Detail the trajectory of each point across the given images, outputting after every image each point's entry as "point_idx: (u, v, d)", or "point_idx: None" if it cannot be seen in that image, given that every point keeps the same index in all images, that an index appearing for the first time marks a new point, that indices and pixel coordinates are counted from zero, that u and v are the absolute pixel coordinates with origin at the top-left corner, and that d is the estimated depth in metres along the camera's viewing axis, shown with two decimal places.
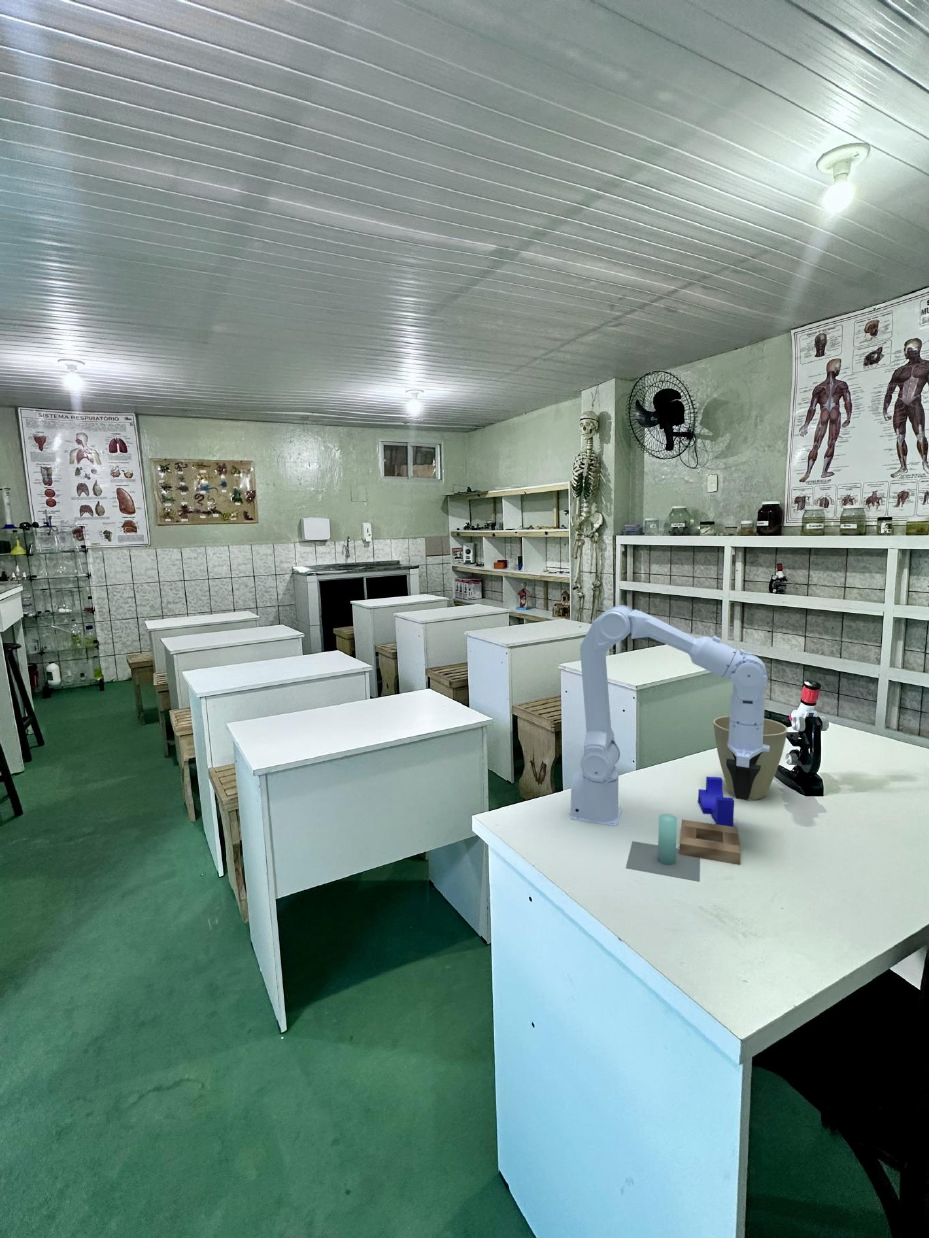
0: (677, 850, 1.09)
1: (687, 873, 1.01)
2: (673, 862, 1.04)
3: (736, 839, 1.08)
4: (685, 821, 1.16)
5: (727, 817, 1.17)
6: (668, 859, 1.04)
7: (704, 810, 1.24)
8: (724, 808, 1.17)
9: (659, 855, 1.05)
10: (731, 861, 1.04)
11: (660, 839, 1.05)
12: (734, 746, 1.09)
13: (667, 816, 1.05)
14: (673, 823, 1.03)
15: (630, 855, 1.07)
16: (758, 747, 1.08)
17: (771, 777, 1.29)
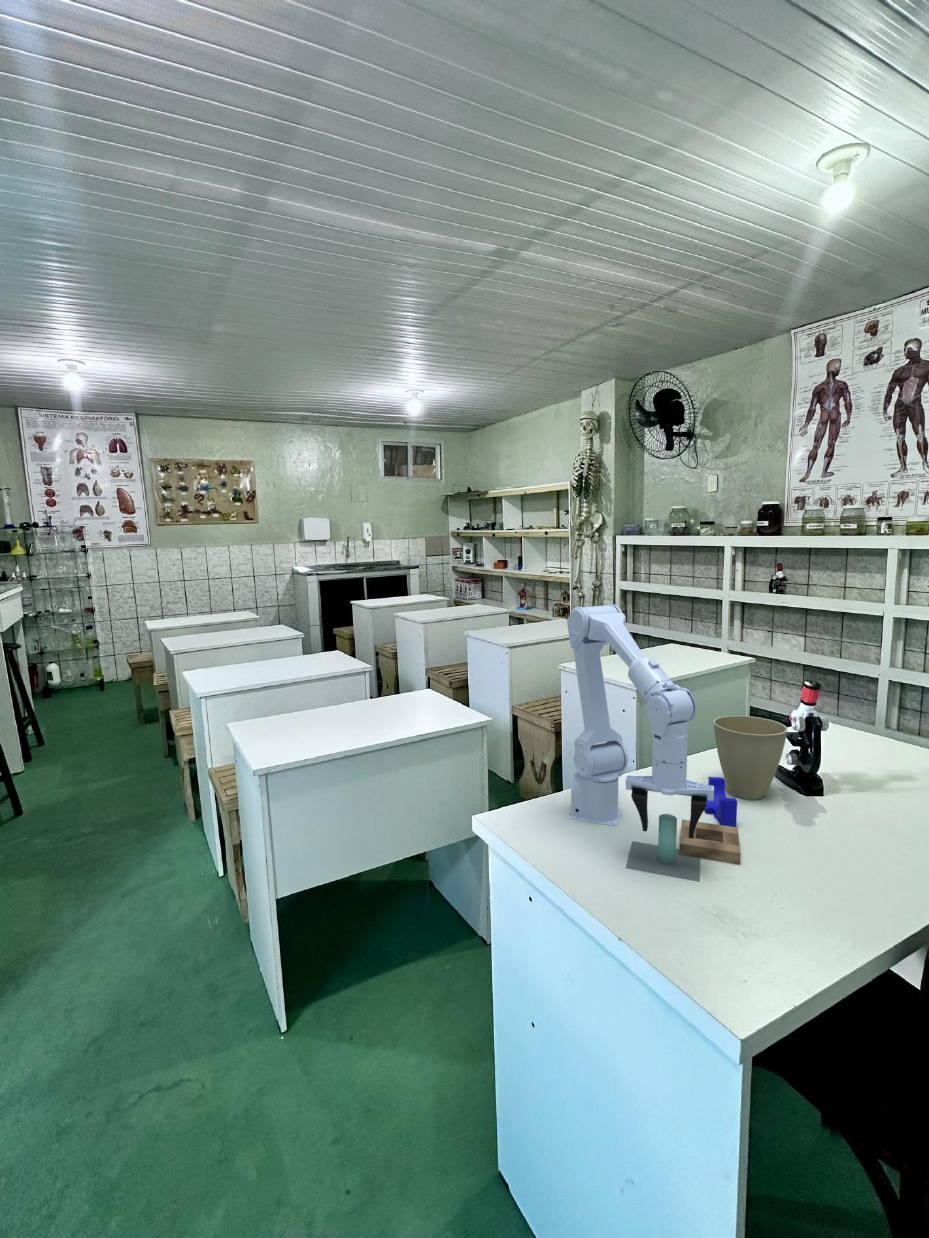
0: (677, 850, 1.09)
1: (687, 873, 1.01)
2: (673, 862, 1.04)
3: (736, 839, 1.08)
4: (685, 821, 1.16)
5: (730, 817, 1.17)
6: (668, 859, 1.04)
7: (707, 810, 1.24)
8: (728, 809, 1.17)
9: (659, 855, 1.05)
10: (731, 861, 1.04)
11: (660, 839, 1.05)
12: None
13: (667, 816, 1.05)
14: (673, 823, 1.03)
15: (630, 855, 1.07)
16: (657, 784, 1.02)
17: (771, 777, 1.29)
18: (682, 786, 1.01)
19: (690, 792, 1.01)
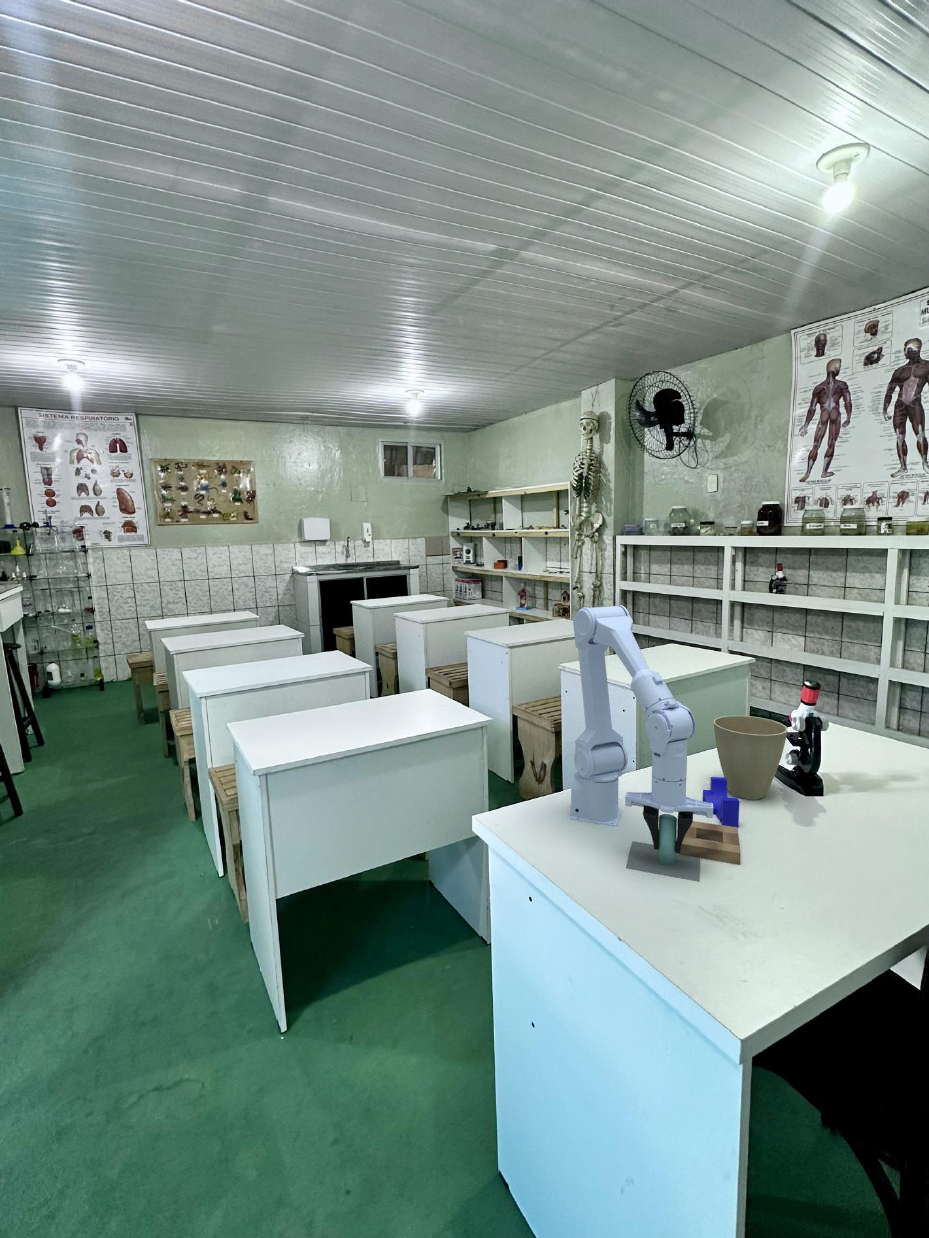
0: None
1: (687, 873, 1.01)
2: (673, 862, 1.04)
3: (736, 839, 1.08)
4: None
5: (732, 817, 1.17)
6: (668, 859, 1.04)
7: None
8: (730, 809, 1.17)
9: (659, 855, 1.05)
10: (731, 861, 1.04)
11: (660, 839, 1.05)
12: None
13: (667, 816, 1.05)
14: (673, 823, 1.03)
15: (630, 855, 1.07)
16: (656, 802, 1.03)
17: (771, 777, 1.29)
18: (681, 803, 1.02)
19: (689, 810, 1.01)
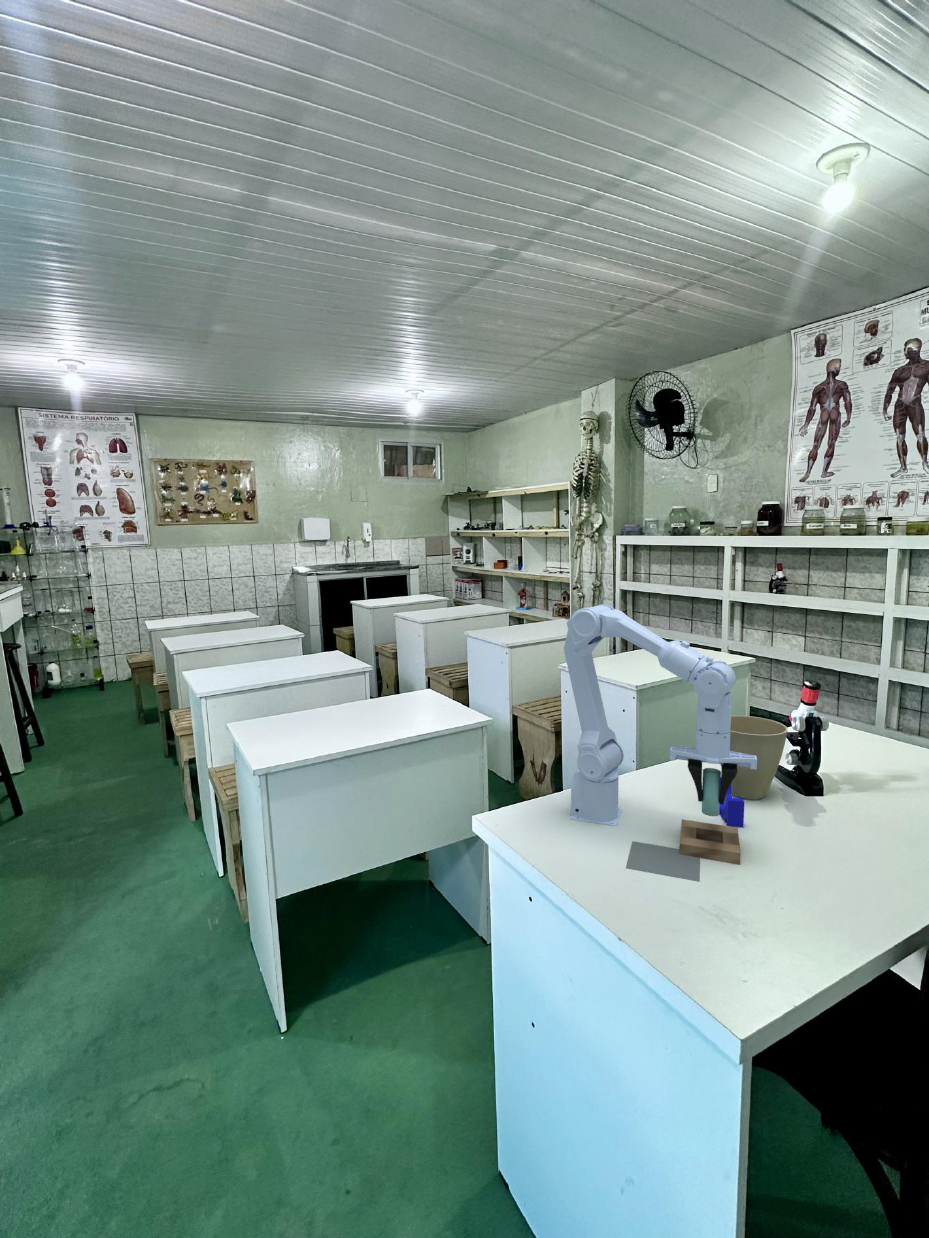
0: (677, 850, 1.09)
1: (687, 873, 1.01)
2: (717, 814, 1.08)
3: (736, 839, 1.08)
4: (685, 821, 1.16)
5: (737, 818, 1.17)
6: (712, 810, 1.08)
7: None
8: (735, 809, 1.17)
9: (703, 807, 1.09)
10: (731, 861, 1.04)
11: (704, 791, 1.08)
12: None
13: (711, 770, 1.09)
14: (716, 776, 1.07)
15: (630, 855, 1.07)
16: (702, 754, 1.07)
17: (771, 777, 1.29)
18: (726, 755, 1.06)
19: (734, 761, 1.05)
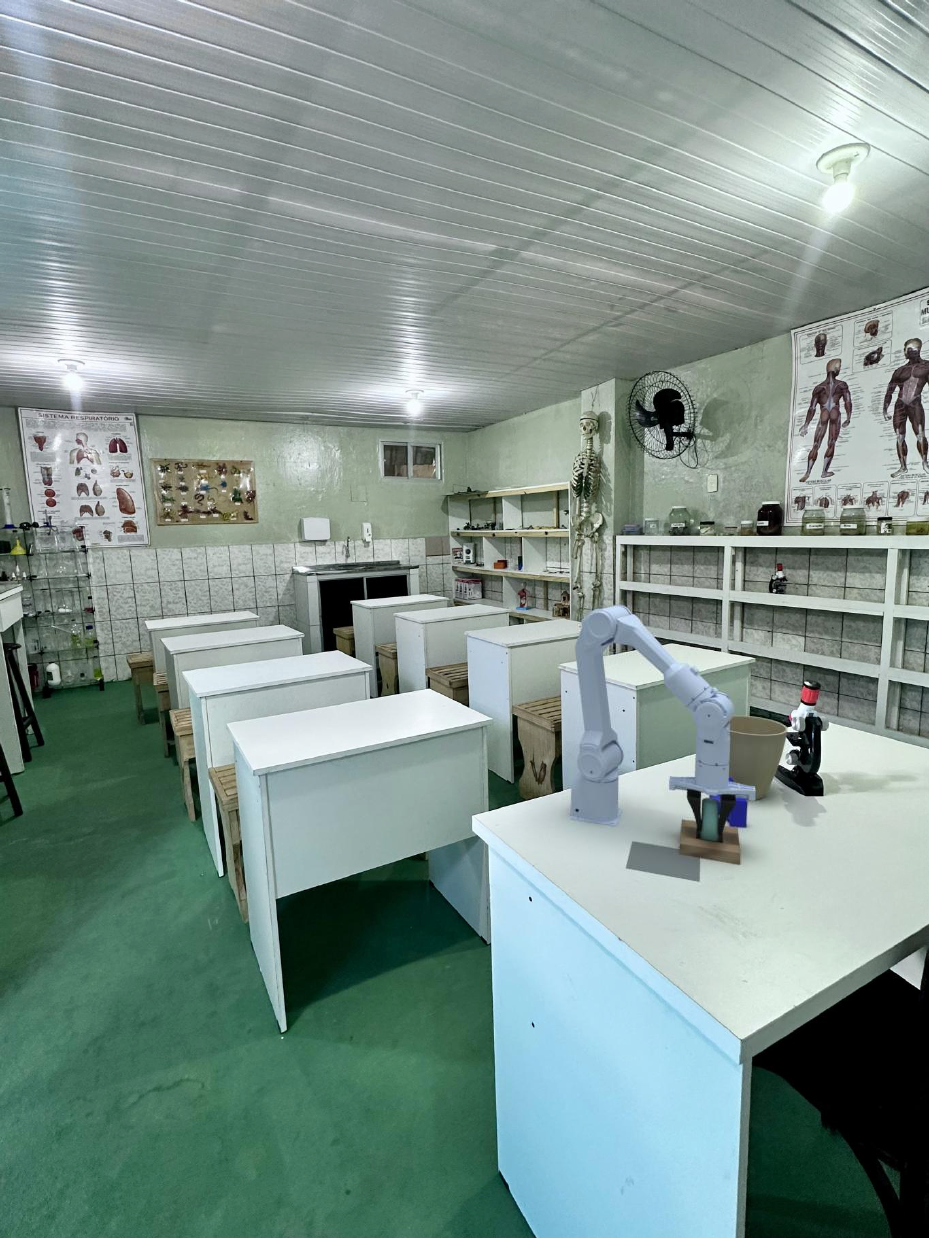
0: (677, 850, 1.09)
1: (687, 873, 1.01)
2: None
3: (736, 839, 1.08)
4: (685, 821, 1.16)
5: (740, 818, 1.17)
6: None
7: None
8: (738, 809, 1.17)
9: (702, 837, 1.10)
10: (731, 861, 1.04)
11: (703, 821, 1.09)
12: None
13: (710, 800, 1.09)
14: (715, 807, 1.08)
15: (630, 855, 1.07)
16: (700, 785, 1.07)
17: (771, 777, 1.29)
18: (725, 787, 1.06)
19: (733, 792, 1.06)
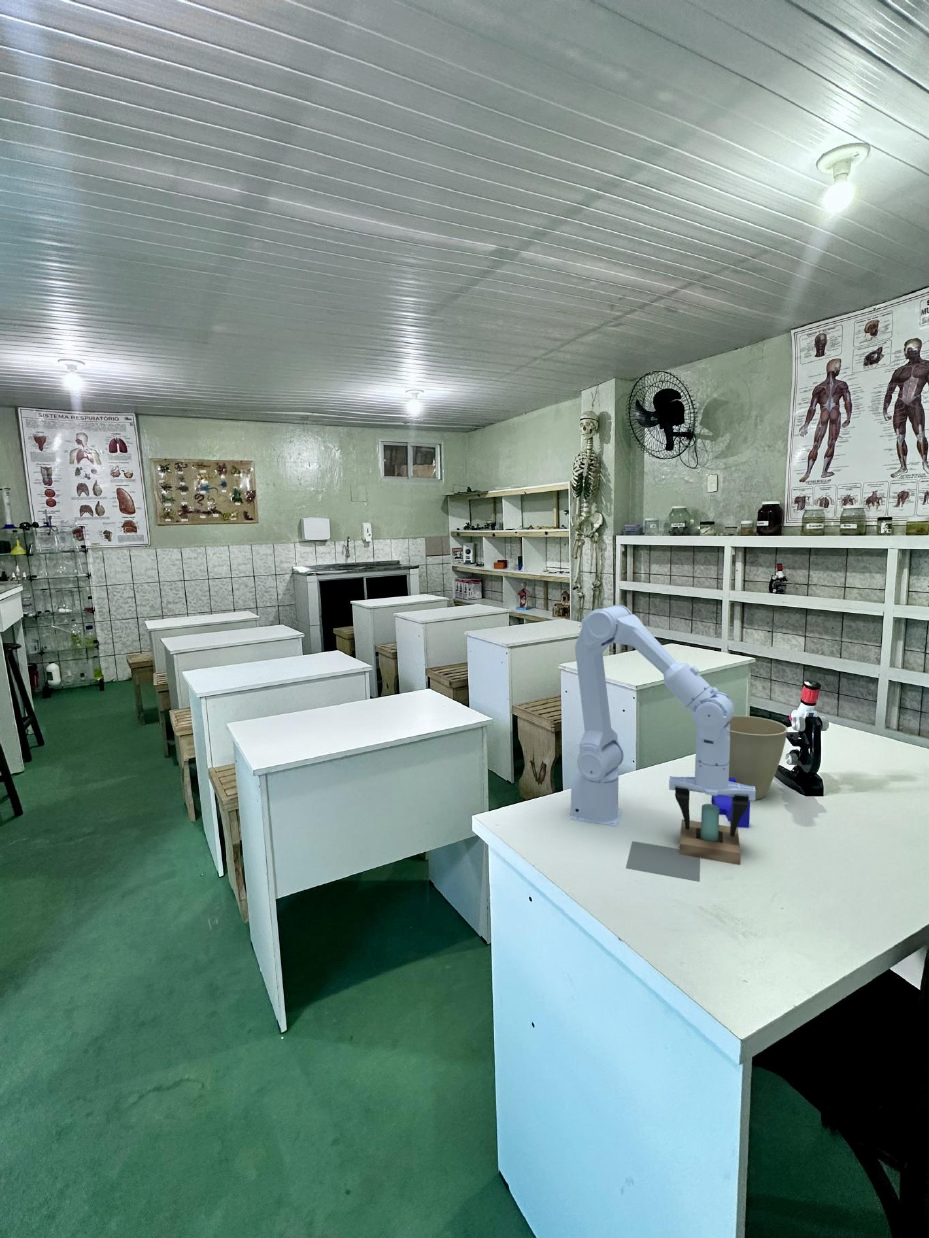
0: (677, 850, 1.09)
1: (687, 873, 1.01)
2: None
3: (736, 839, 1.08)
4: None
5: (743, 818, 1.17)
6: None
7: (719, 811, 1.24)
8: None
9: None
10: (731, 861, 1.04)
11: (703, 827, 1.09)
12: None
13: (710, 806, 1.10)
14: (715, 813, 1.08)
15: (630, 855, 1.07)
16: (700, 785, 1.07)
17: (771, 777, 1.29)
18: (725, 787, 1.06)
19: (733, 792, 1.06)
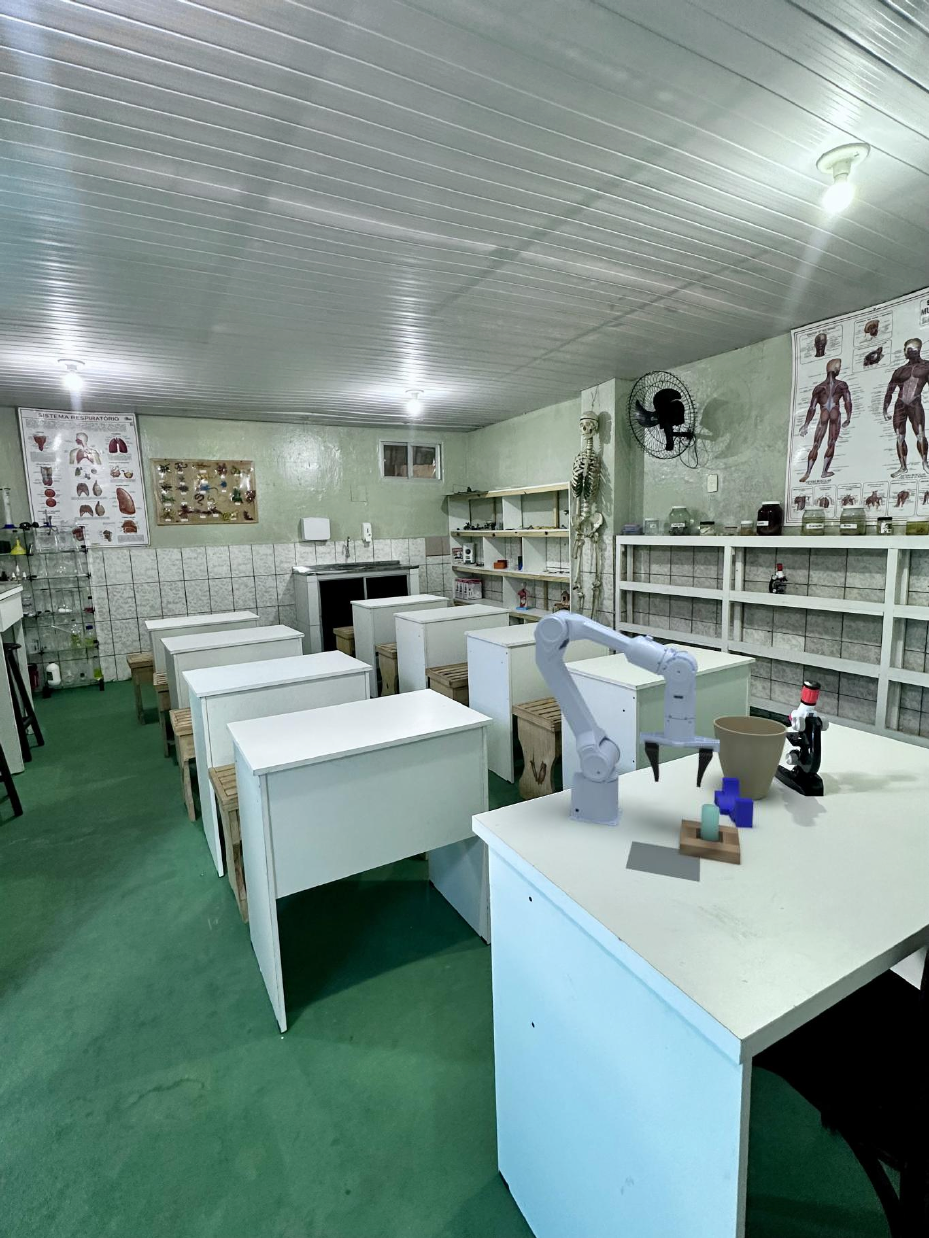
0: (677, 850, 1.09)
1: (687, 873, 1.01)
2: None
3: (736, 839, 1.08)
4: (685, 821, 1.16)
5: (746, 818, 1.17)
6: None
7: (722, 811, 1.23)
8: (744, 809, 1.17)
9: None
10: (731, 861, 1.04)
11: (703, 827, 1.09)
12: None
13: (710, 806, 1.10)
14: (715, 813, 1.08)
15: (630, 855, 1.07)
16: (668, 738, 1.13)
17: (771, 777, 1.29)
18: (691, 739, 1.12)
19: (698, 745, 1.12)
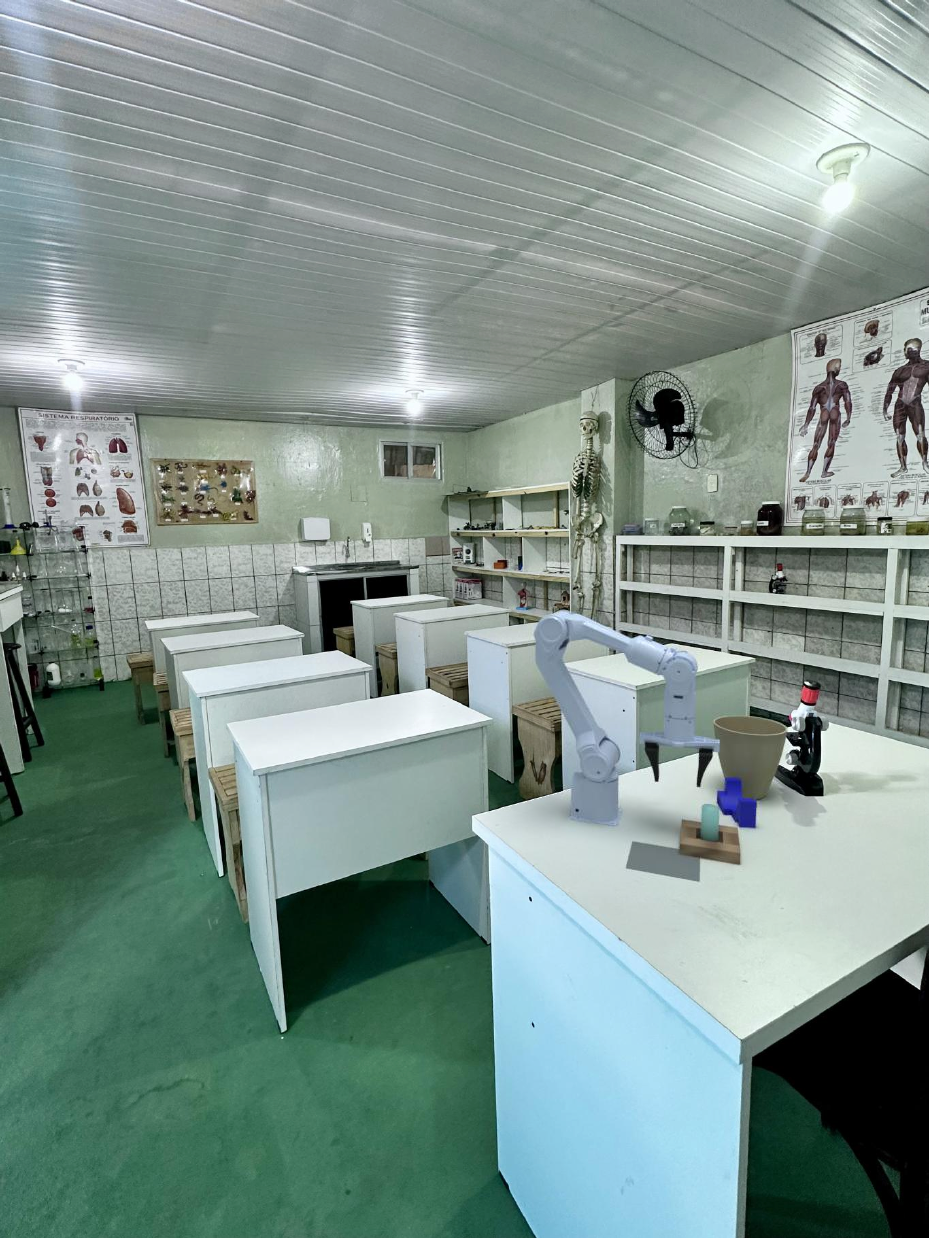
0: (677, 850, 1.09)
1: (687, 873, 1.01)
2: None
3: (736, 839, 1.08)
4: (685, 821, 1.16)
5: (750, 818, 1.17)
6: None
7: (724, 811, 1.23)
8: (747, 810, 1.17)
9: None
10: (731, 861, 1.04)
11: (703, 827, 1.09)
12: None
13: (710, 806, 1.10)
14: (715, 813, 1.08)
15: (630, 855, 1.07)
16: (668, 738, 1.13)
17: (771, 777, 1.29)
18: (691, 739, 1.12)
19: (698, 745, 1.12)
